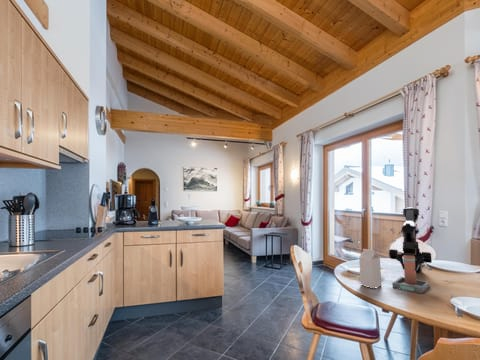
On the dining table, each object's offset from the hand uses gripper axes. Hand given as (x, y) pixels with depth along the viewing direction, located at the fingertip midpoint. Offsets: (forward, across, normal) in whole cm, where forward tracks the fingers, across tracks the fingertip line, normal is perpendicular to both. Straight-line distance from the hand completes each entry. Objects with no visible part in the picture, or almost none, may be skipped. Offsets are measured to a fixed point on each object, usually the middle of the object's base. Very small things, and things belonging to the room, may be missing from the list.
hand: (409, 270), depth 134 cm
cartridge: (+4, 0, +6) cm, 7 cm away
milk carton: (+12, -17, +1) cm, 21 cm away
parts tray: (+6, 0, +7) cm, 9 cm away
